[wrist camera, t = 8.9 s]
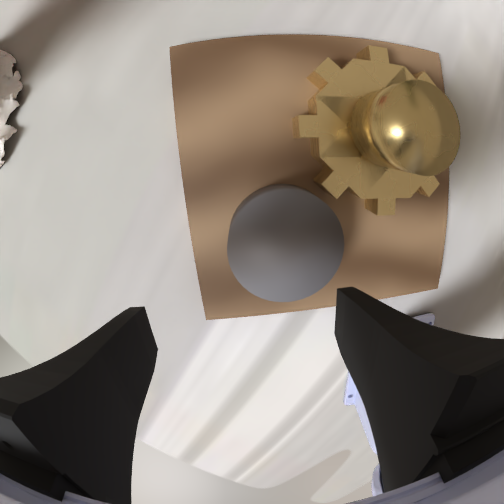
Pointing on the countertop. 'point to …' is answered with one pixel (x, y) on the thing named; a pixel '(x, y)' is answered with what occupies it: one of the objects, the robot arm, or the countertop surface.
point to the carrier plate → (287, 183)
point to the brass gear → (378, 130)
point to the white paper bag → (7, 97)
